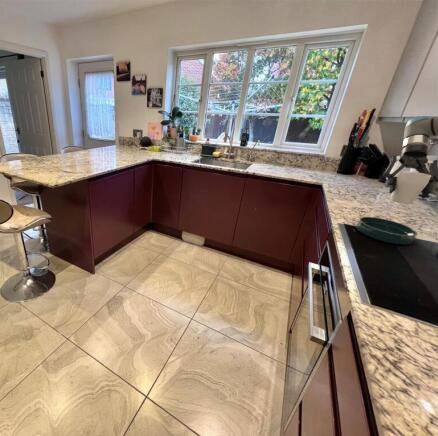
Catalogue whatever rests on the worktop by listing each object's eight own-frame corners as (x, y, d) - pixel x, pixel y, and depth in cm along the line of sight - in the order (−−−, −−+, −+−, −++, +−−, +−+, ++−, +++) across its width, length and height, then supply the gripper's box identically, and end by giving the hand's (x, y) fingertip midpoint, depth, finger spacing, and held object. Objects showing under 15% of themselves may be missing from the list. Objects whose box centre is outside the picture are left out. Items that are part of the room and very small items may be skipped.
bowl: (418, 239, 98) (424, 230, 96) (401, 249, 90) (407, 239, 88) (365, 222, 112) (370, 214, 110) (347, 229, 104) (351, 220, 102)
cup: (421, 206, 92) (438, 177, 87) (392, 203, 95) (407, 174, 90) (407, 199, 100) (422, 172, 95) (381, 196, 103) (394, 169, 98)
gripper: (444, 157, 97) (440, 204, 91) (376, 151, 107) (369, 193, 102) (458, 145, 91) (455, 194, 85) (385, 140, 101) (377, 184, 95)
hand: (408, 193), depth 93 cm, fingers closed on cup, 9 cm apart
